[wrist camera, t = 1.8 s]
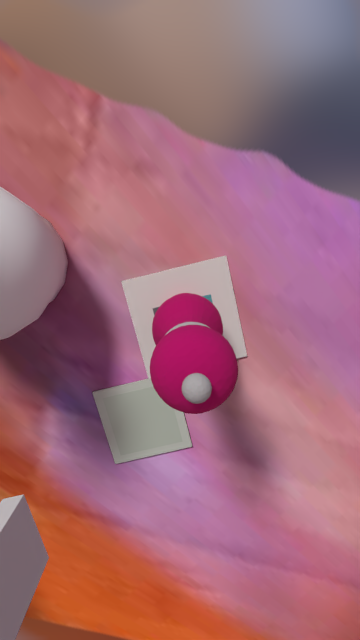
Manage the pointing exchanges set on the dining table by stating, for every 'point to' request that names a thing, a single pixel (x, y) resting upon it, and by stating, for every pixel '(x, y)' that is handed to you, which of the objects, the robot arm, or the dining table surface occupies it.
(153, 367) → the pepper mill
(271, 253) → the dining table surface
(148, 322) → the tile
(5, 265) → the vase
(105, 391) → the coaster
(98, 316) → the dining table surface
